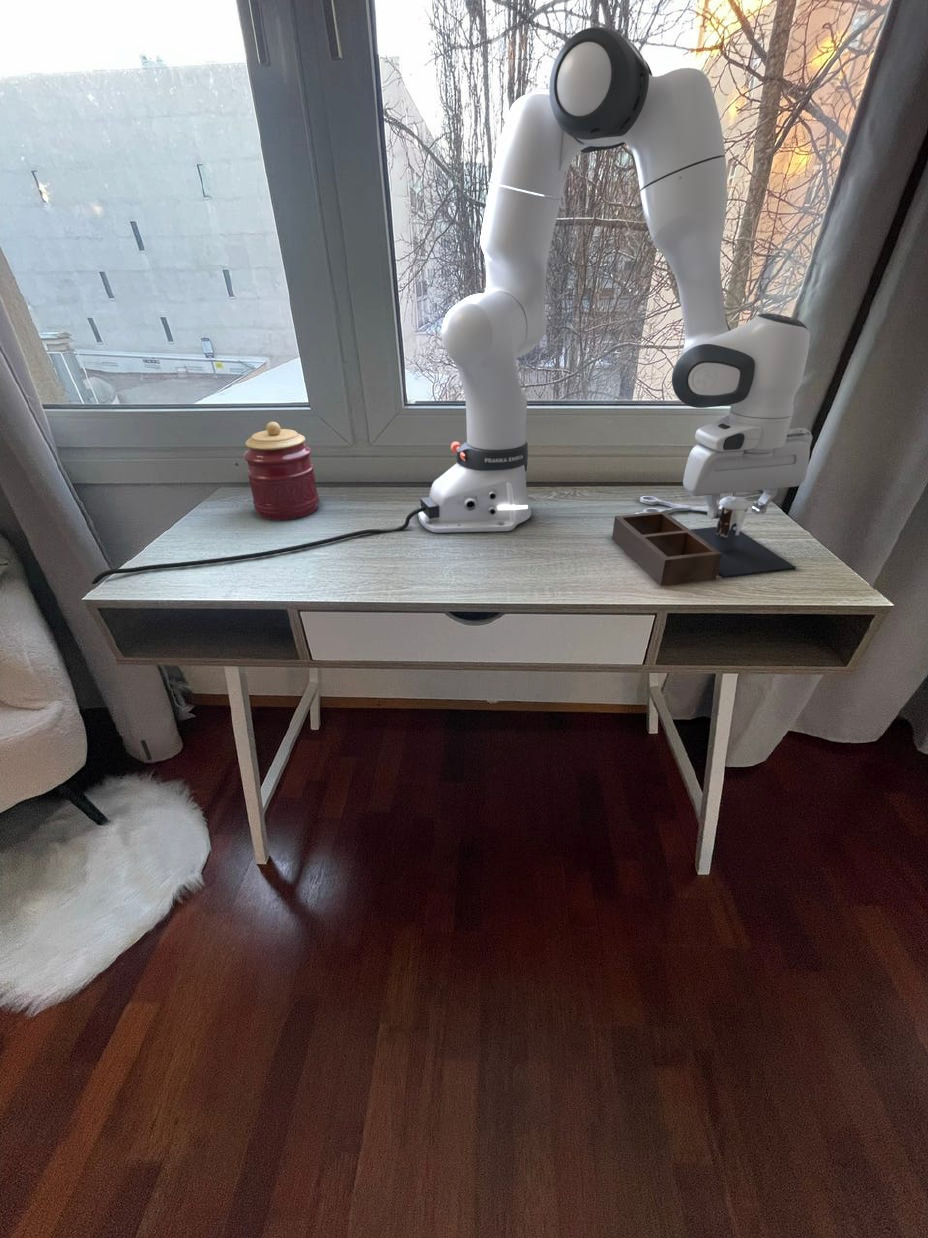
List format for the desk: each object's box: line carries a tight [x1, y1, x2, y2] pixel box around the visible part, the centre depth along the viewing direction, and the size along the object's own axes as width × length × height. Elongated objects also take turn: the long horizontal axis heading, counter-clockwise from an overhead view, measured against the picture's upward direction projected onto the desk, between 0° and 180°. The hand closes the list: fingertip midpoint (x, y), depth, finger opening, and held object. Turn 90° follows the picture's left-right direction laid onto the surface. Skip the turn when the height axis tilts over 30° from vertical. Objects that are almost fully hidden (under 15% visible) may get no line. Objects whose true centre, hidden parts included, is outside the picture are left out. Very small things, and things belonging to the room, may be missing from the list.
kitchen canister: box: [242, 421, 320, 521], centre depth 118 cm, size 13×13×18 cm
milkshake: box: [714, 492, 750, 552], centre depth 99 cm, size 5×5×10 cm
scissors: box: [634, 495, 709, 514], centre depth 117 cm, size 11×1×20 cm
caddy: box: [611, 511, 722, 587], centre depth 99 cm, size 10×18×4 cm, turn 12°
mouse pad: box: [690, 526, 797, 579], centre depth 102 cm, size 13×18×1 cm
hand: (736, 515), depth 99 cm, fingers open, 7 cm apart
